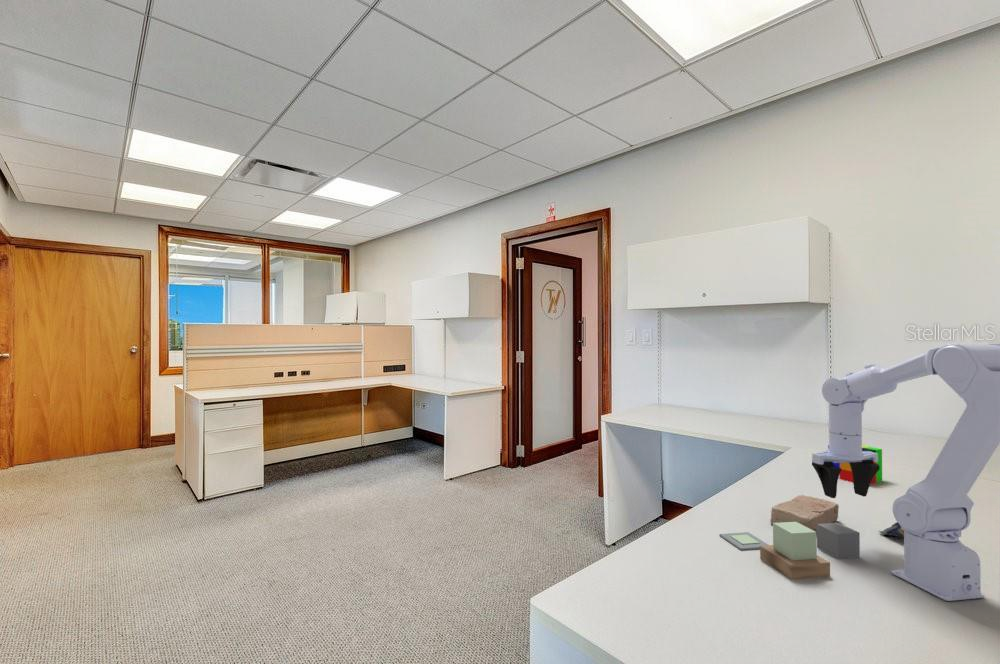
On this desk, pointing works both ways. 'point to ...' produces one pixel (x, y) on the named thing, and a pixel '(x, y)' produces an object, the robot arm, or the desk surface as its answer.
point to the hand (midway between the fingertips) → (845, 495)
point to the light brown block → (795, 564)
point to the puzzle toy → (847, 472)
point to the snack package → (894, 530)
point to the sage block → (794, 541)
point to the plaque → (743, 540)
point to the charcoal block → (838, 540)
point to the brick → (805, 511)
